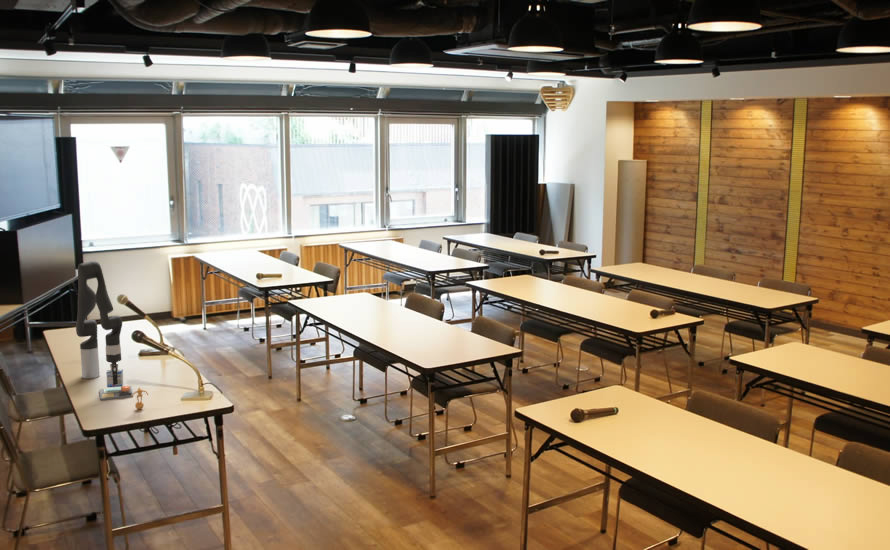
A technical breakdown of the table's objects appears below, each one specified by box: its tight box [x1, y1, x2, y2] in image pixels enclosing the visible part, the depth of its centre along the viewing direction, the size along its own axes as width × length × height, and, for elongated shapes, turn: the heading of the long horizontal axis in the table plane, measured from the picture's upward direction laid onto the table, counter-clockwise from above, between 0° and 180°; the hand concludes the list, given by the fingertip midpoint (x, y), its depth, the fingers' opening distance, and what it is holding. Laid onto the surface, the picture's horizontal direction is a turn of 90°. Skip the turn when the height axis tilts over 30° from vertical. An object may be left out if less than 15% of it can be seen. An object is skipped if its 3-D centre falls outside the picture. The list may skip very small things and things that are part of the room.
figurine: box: [130, 387, 149, 410], centre depth 395 cm, size 8×6×12 cm
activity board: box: [99, 385, 134, 401], centre depth 420 cm, size 17×16×2 cm
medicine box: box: [105, 369, 124, 388], centre depth 422 cm, size 8×4×9 cm, turn 106°
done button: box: [121, 385, 131, 392], centre depth 417 cm, size 4×4×2 cm
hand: (115, 382), depth 422 cm, fingers closed on medicine box, 5 cm apart
